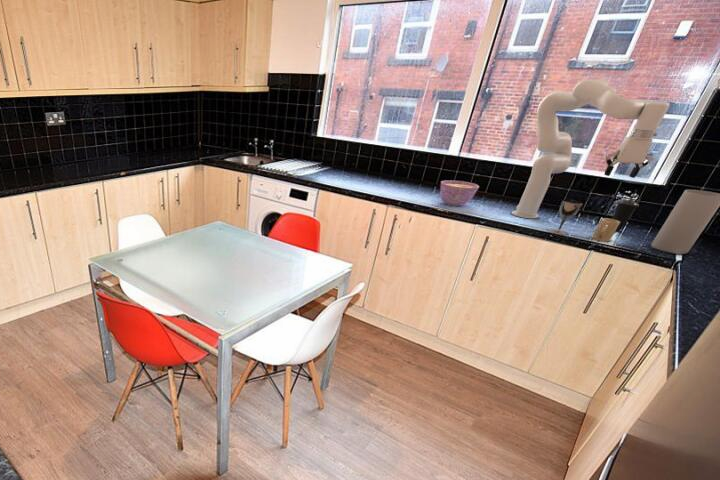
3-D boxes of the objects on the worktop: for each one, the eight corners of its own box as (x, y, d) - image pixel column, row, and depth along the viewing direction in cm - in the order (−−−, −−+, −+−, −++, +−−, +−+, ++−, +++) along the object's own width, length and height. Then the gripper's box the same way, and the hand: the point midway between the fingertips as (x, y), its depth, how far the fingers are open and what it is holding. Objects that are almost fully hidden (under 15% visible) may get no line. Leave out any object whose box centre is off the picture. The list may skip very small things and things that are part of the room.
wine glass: (570, 235, 204) (586, 204, 196) (552, 234, 206) (567, 203, 198) (562, 230, 211) (577, 200, 203) (545, 229, 212) (559, 198, 204)
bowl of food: (473, 203, 252) (480, 183, 246) (470, 210, 238) (478, 189, 232) (437, 198, 261) (443, 178, 255) (432, 204, 247) (438, 184, 240)
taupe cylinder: (694, 254, 187) (734, 196, 174) (673, 255, 185) (711, 197, 171) (663, 244, 197) (698, 189, 184) (643, 245, 195) (677, 190, 181)
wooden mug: (593, 235, 206) (603, 217, 201) (611, 239, 201) (621, 221, 196) (587, 239, 200) (598, 221, 195) (606, 243, 195) (617, 224, 190)
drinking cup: (619, 229, 216) (641, 189, 206) (626, 233, 210) (650, 192, 199) (601, 227, 218) (623, 187, 208) (607, 231, 212) (630, 190, 201)
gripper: (660, 134, 182) (636, 176, 191) (613, 132, 185) (593, 173, 195) (671, 137, 176) (646, 179, 185) (622, 134, 179) (601, 176, 189)
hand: (619, 176), depth 190 cm, fingers open, 9 cm apart
